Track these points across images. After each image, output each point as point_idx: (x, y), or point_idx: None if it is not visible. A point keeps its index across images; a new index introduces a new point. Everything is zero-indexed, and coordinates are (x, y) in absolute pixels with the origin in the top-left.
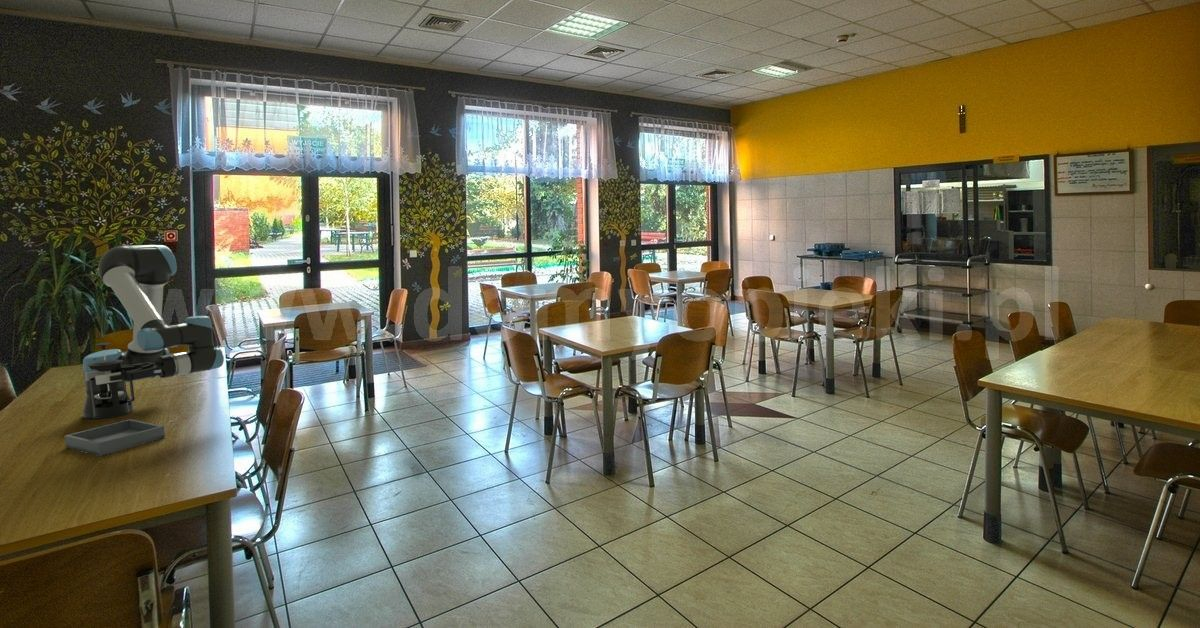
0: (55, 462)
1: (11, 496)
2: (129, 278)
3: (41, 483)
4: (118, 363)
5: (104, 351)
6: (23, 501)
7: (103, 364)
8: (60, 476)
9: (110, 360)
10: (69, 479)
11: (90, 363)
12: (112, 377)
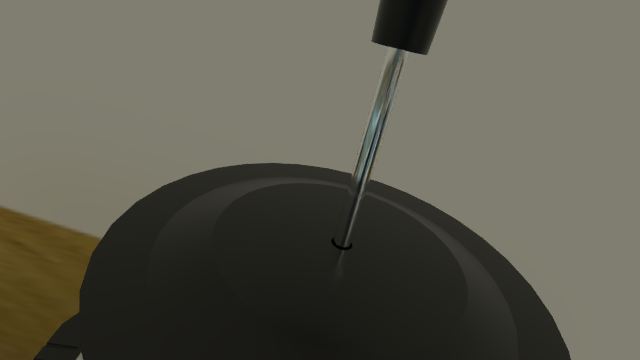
0: None
1: (72, 231)
2: None
3: (73, 275)
4: (84, 326)
5: (379, 83)
6: (10, 226)
7: (208, 196)
8: (64, 311)
9: (375, 303)
10: (5, 309)
11: (422, 206)
12: (68, 330)
